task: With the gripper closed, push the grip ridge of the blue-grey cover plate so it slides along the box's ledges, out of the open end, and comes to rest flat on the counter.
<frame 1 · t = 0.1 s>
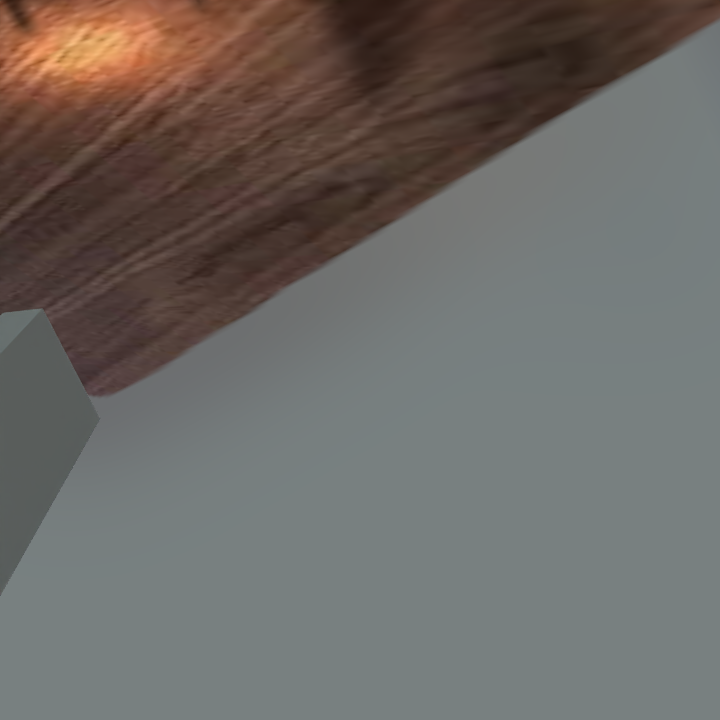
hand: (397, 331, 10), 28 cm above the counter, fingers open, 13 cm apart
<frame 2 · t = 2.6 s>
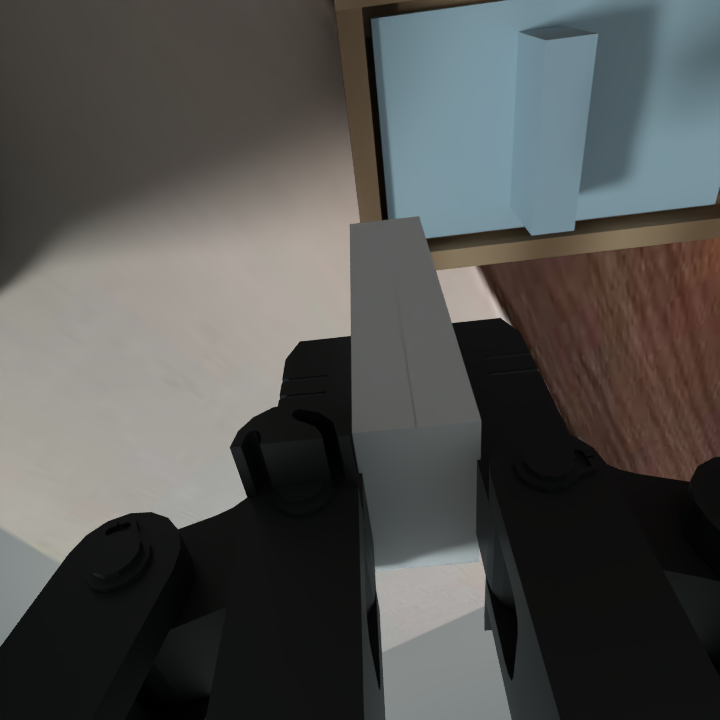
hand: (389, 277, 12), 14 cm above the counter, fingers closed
lid: (553, 116, 22), point 2 cm above the counter, touching pencil box
pencil box: (534, 107, 23), on the counter
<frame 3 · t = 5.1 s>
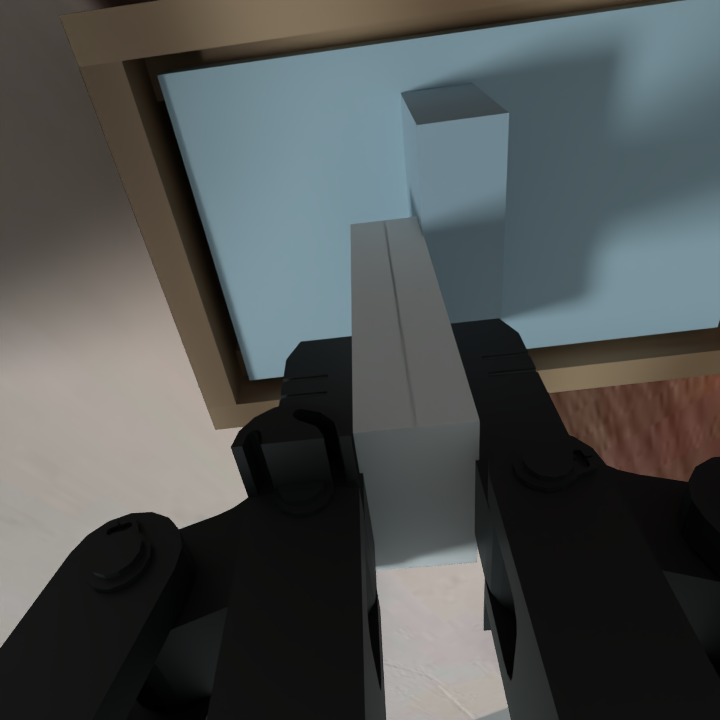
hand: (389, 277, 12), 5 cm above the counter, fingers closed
lid: (473, 209, 14), point 2 cm above the counter, touching gripper, pencil box
pencil box: (449, 187, 16), on the counter
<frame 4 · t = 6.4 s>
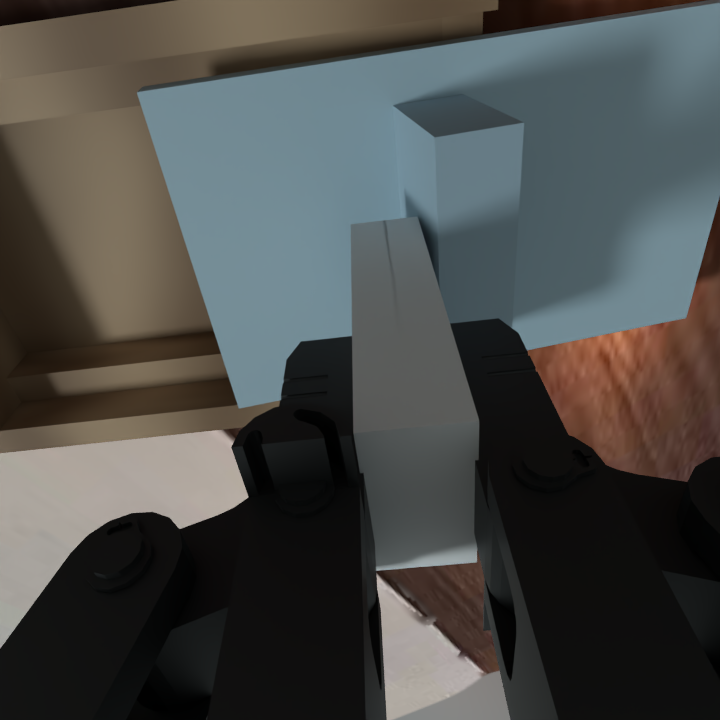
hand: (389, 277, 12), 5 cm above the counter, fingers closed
lid: (460, 218, 14), point 2 cm above the counter, tilted 9°, touching gripper, pencil box
pencil box: (204, 220, 16), on the counter
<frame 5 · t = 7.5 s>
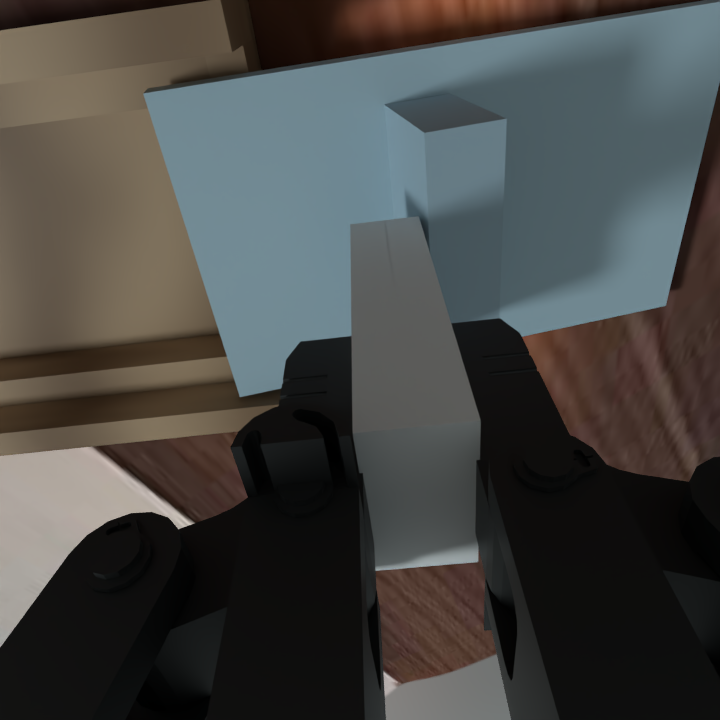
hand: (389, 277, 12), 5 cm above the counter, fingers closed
lid: (449, 212, 15), point 1 cm above the counter, tilted 10°, touching gripper, pencil box
pencil box: (35, 244, 17), on the counter
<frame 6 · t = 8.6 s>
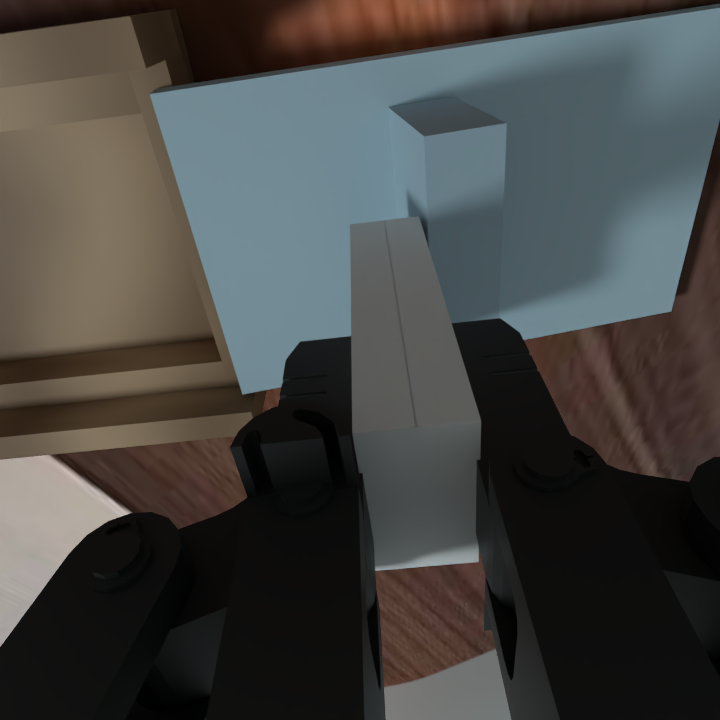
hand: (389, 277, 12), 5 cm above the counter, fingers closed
lid: (453, 214, 15), point 1 cm above the counter, tilted 9°, touching gripper, pencil box
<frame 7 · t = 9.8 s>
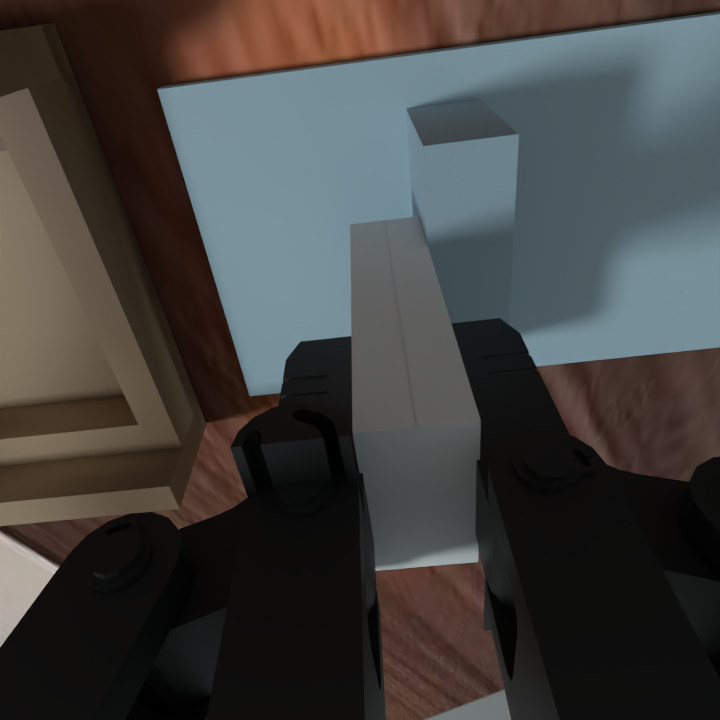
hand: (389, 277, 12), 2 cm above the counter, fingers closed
lid: (479, 225, 14), on the counter
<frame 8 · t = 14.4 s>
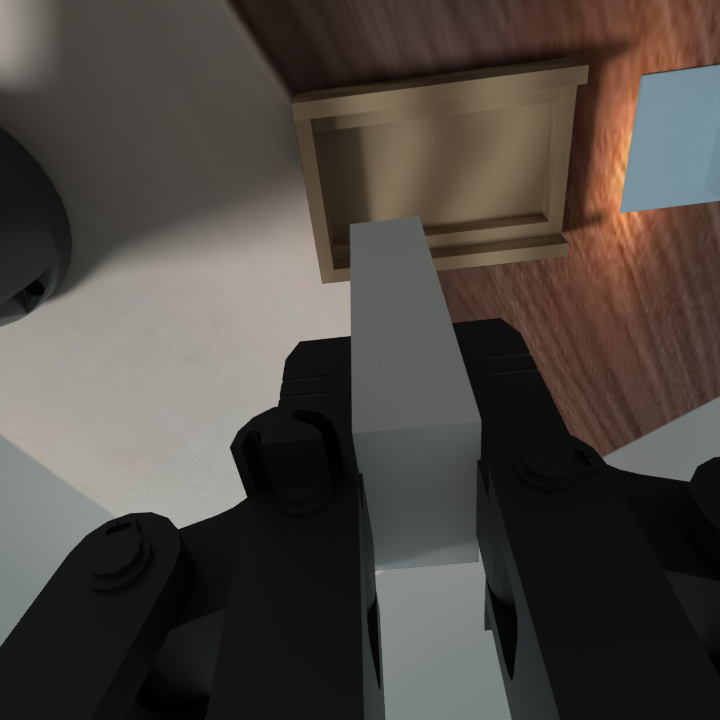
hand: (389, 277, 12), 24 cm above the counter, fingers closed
pencil box: (433, 170, 35), on the counter
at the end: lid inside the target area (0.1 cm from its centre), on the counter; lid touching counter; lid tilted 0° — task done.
